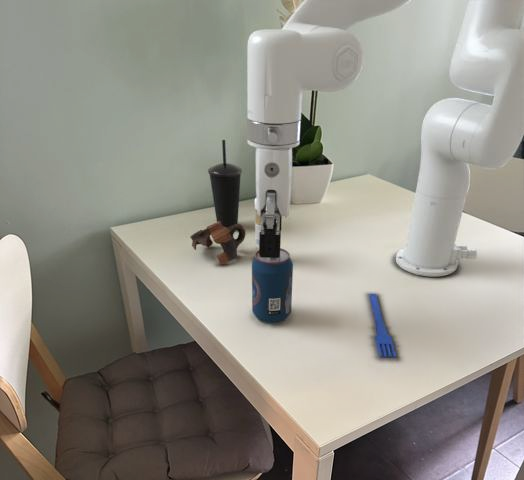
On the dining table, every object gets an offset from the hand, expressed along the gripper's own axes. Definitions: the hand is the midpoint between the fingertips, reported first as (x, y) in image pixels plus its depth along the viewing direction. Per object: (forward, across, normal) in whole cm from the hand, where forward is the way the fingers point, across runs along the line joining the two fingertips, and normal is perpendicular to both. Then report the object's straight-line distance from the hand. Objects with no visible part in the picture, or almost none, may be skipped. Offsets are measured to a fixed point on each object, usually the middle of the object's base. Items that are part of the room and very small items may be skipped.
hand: (270, 243), depth 82 cm
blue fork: (+14, -2, -20) cm, 24 cm away
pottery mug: (+14, +24, +12) cm, 30 cm away
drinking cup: (+14, +39, +12) cm, 43 cm away
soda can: (+14, 0, 0) cm, 14 cm away
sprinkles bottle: (+14, +22, +2) cm, 26 cm away
